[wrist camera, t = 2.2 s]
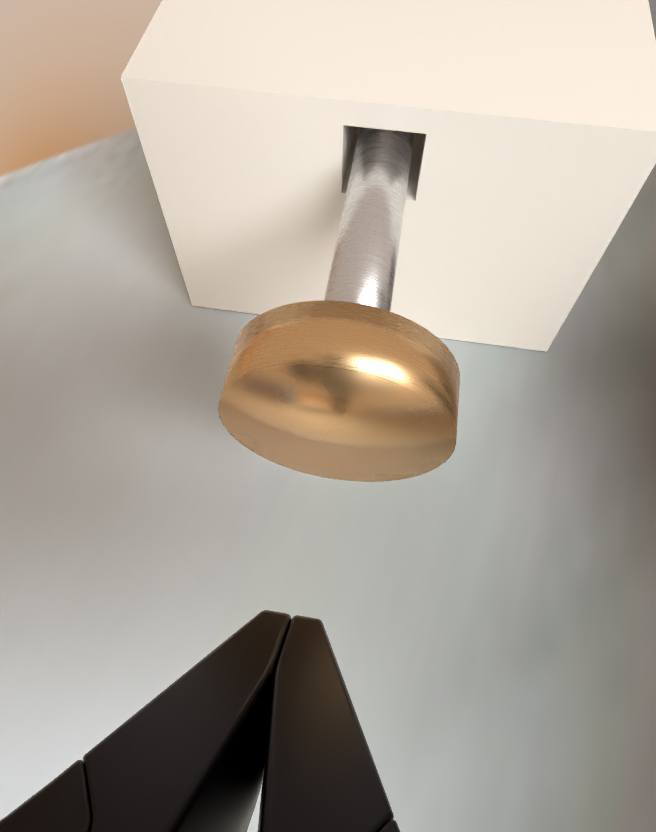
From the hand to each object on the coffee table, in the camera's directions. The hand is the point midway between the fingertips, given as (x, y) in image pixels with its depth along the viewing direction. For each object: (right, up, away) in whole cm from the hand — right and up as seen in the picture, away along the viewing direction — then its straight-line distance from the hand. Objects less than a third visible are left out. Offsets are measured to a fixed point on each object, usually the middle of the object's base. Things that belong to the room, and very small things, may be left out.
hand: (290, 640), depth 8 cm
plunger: (+2, +6, +9) cm, 11 cm away
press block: (+3, +10, +17) cm, 20 cm away
